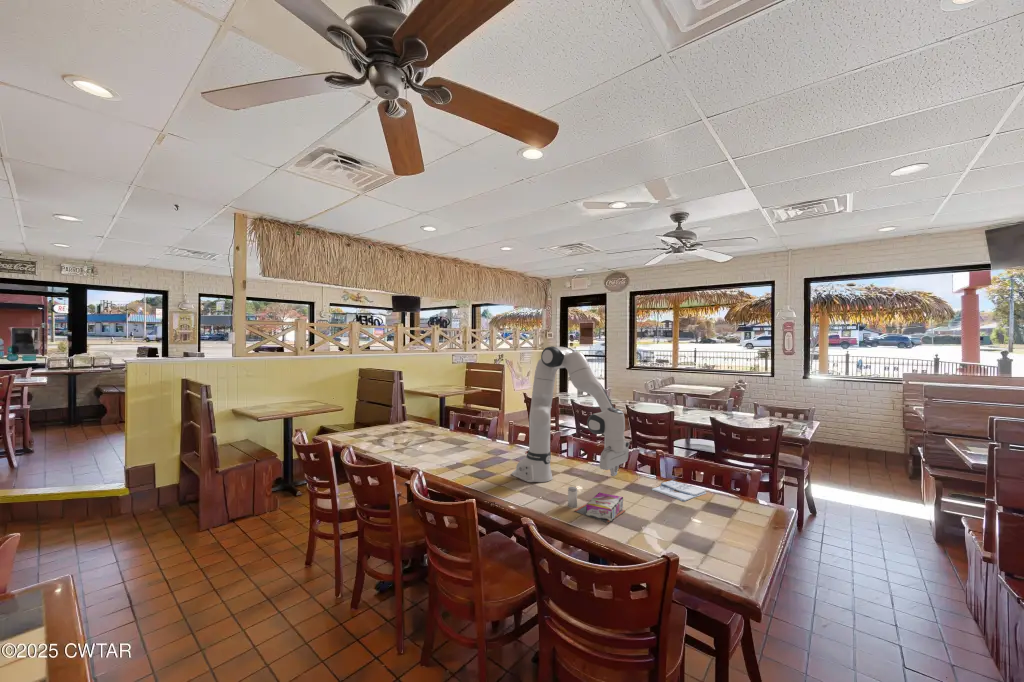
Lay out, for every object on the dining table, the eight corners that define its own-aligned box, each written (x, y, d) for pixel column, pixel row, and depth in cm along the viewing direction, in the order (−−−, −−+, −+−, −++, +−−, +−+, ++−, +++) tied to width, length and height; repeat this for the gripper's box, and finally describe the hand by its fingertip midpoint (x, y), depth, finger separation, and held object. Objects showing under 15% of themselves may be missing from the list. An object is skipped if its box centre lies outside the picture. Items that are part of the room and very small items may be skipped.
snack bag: (707, 494, 196) (707, 490, 196) (683, 503, 185) (683, 498, 185) (672, 482, 212) (672, 478, 212) (648, 490, 201) (648, 486, 201)
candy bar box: (623, 496, 176) (612, 509, 162) (623, 507, 176) (612, 521, 162) (598, 491, 182) (585, 503, 168) (598, 502, 182) (585, 515, 168)
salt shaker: (565, 505, 178) (566, 488, 178) (570, 503, 181) (571, 485, 181) (573, 508, 176) (573, 490, 176) (578, 505, 179) (578, 488, 179)
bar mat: (574, 511, 173) (574, 510, 173) (592, 501, 184) (592, 500, 184) (608, 523, 162) (608, 521, 162) (625, 511, 173) (625, 510, 173)
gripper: (609, 450, 173) (608, 482, 173) (631, 442, 188) (630, 471, 188) (596, 447, 177) (595, 479, 177) (618, 439, 192) (618, 468, 192)
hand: (613, 475), depth 182 cm, fingers closed
